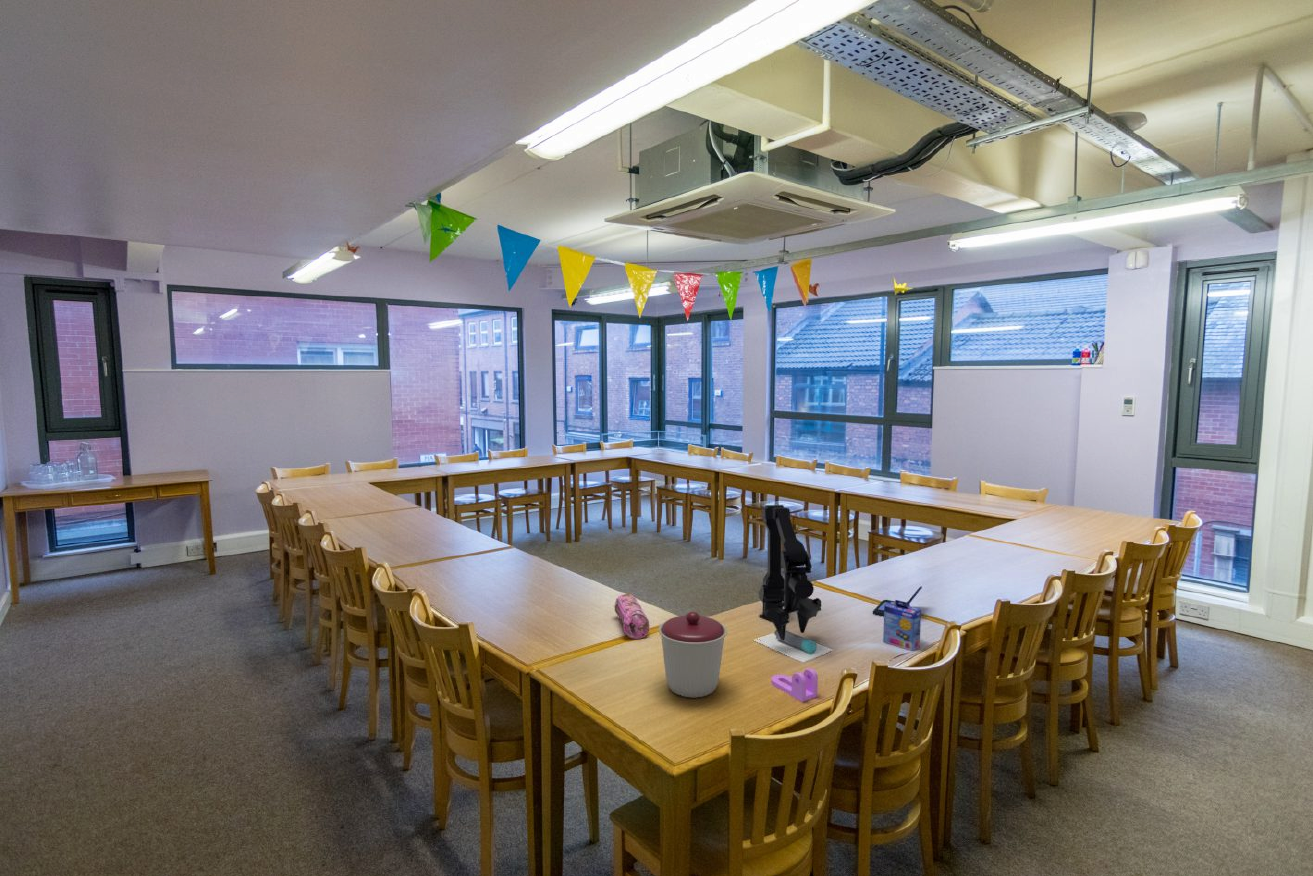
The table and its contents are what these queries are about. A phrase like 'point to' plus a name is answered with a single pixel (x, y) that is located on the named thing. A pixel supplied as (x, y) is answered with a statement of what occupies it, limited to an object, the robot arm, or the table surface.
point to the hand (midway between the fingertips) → (792, 636)
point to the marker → (798, 641)
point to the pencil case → (632, 616)
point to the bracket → (798, 684)
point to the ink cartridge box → (902, 625)
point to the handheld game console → (880, 608)
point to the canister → (692, 653)
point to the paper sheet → (791, 648)
